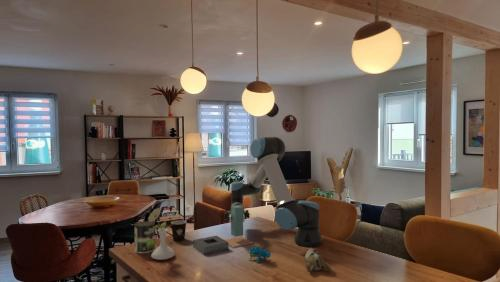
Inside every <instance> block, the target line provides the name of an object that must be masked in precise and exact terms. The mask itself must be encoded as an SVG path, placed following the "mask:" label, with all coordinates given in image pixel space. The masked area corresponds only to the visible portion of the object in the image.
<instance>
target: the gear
mask: <svg viewBox="0 0 500 282" xmlns="http://www.w3.org/2000/svg"><path fill="white" fill-rule="evenodd" d="M251 247H252V248H250V249H249V251H248V254H249V262H251V261H252V258H253V257H254V258H257V260H256V263H257V264H259V263H260V261H261V260H260V259H261V258H262V259H266V258H267V259H270V257H271V251H268V249H263V247H258V246H255V247H253V246H251Z"/></svg>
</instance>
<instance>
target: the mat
mask: <svg viewBox="0 0 500 282" xmlns="http://www.w3.org/2000/svg"><path fill="white" fill-rule="evenodd" d="M224 240H225V241H227V242H229V247H231V248H232V249H235V248H238V247H244V246H248V245H252V244H253V245H254V242H253V241H251V240H249V239H247V238H245V237H243V235H242V236H237V237H231V238H227V239H224Z"/></svg>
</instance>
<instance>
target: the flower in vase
mask: <svg viewBox="0 0 500 282" xmlns="http://www.w3.org/2000/svg"><path fill="white" fill-rule="evenodd" d="M160 214H161V208H159V207H157V208H154V209H153V210H152V212H151V213H150V214H149V216H148V218H147V221H149V222H150V221H151V222H155V221H156V220H157V223H158V224H155V226H154V227H153V228H152V229H155V230H157V232H158V234H159V237H160V243H159V246H157V247H156V248H155V250H154V251H152V252H151V255H150V256H151V258H152V259H154V260H158V261H161V260H162V261H165V260H168V259H171V258H173V257H174V256H175V254H176V252H175V250H174V249H172V248H171V247H170V246H168V245H167V243H166V237H167V236H166V234H167V232H169V231H168V230H169V228H165V227H166V226H167V221H164V222H162V223H160V221H159V219H158V218H159V216H160ZM158 228H159V229H158Z"/></svg>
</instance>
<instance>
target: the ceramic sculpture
mask: <svg viewBox="0 0 500 282" xmlns="http://www.w3.org/2000/svg"><path fill="white" fill-rule="evenodd" d="M304 261H305V268H306V270H307V272H309V273H313V272H314V271H321V270H323V271H325V272H332V269H331V266H330V264H329V263H328V262H327V261H325V259H324V257H323V255H322V254H320V253H319V251H318V250H315V249H313V247H309V249H308V250H307V252H306V253H305V255H304Z"/></svg>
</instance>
